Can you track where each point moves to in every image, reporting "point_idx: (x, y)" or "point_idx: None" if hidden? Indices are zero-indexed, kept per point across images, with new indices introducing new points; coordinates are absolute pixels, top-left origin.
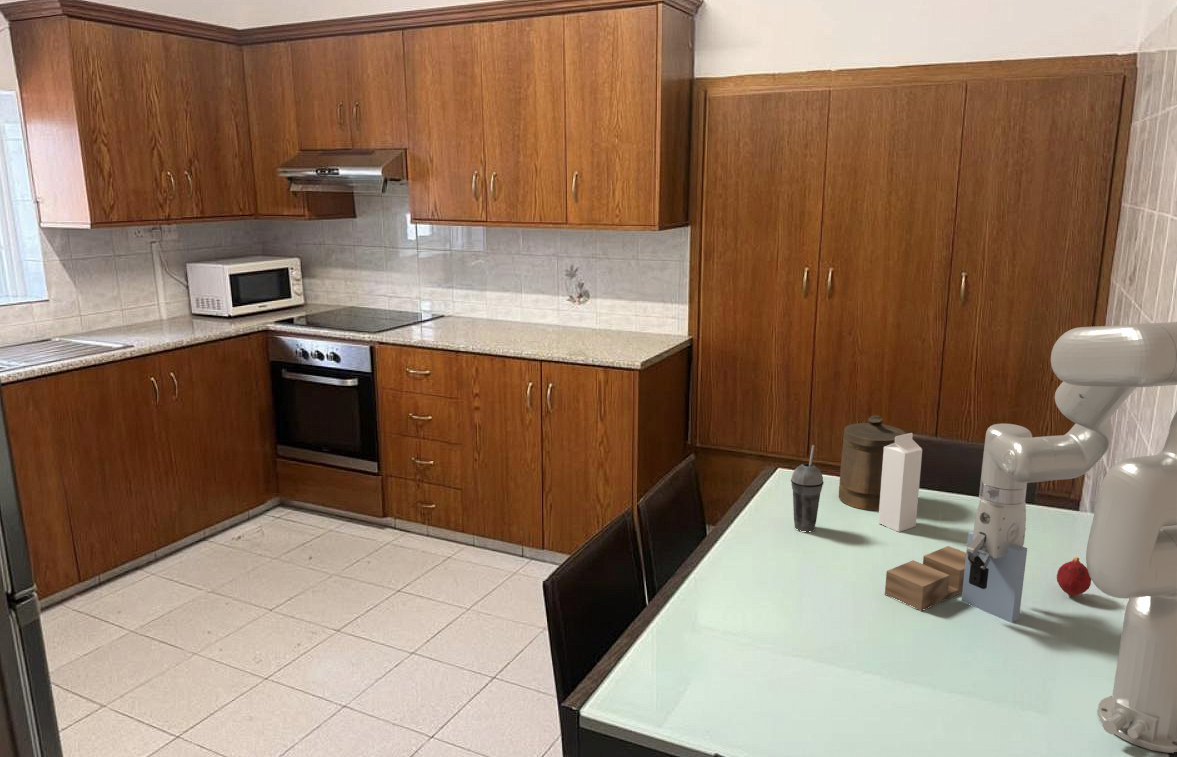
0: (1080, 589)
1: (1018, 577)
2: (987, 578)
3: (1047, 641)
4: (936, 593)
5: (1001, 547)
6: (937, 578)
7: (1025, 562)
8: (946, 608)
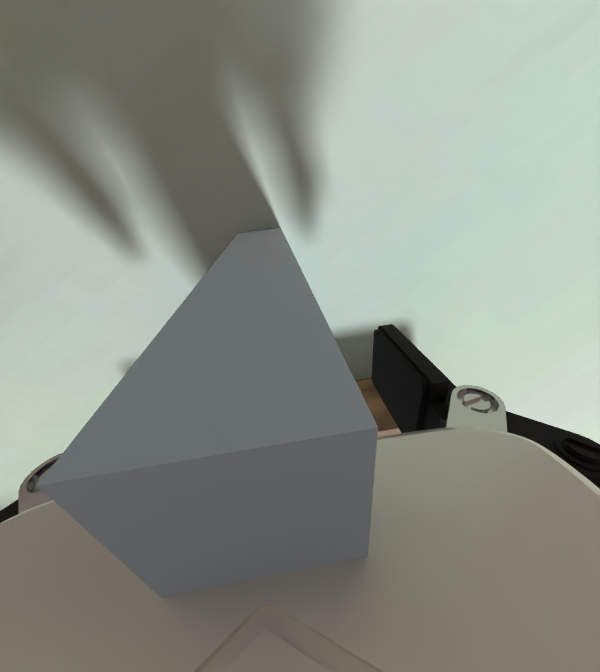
0: None
1: (279, 265)
2: (404, 348)
3: (281, 44)
4: (376, 399)
5: (568, 574)
6: (383, 435)
7: (174, 316)
8: (360, 359)
